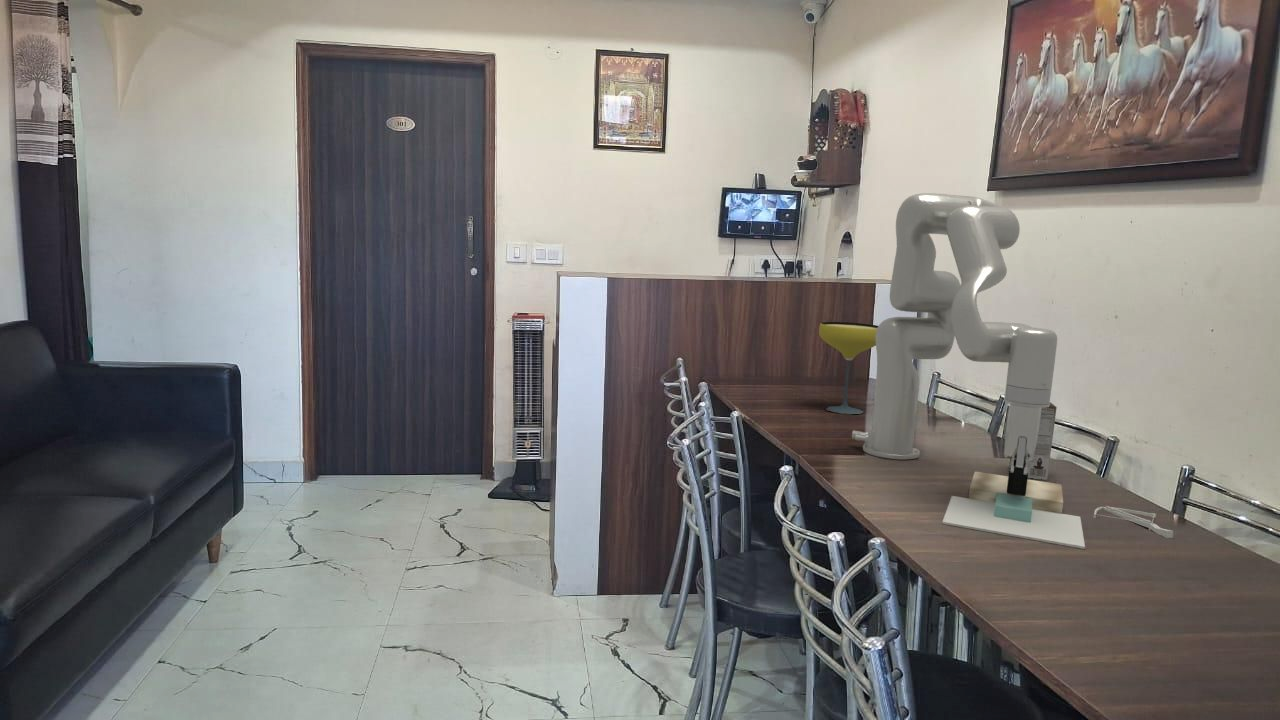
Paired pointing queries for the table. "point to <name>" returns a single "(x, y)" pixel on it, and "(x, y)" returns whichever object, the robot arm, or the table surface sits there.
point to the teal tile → (1013, 507)
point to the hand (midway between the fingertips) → (1016, 493)
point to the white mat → (1015, 523)
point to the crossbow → (1137, 519)
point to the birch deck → (1040, 493)
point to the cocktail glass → (848, 348)
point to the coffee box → (1042, 445)
